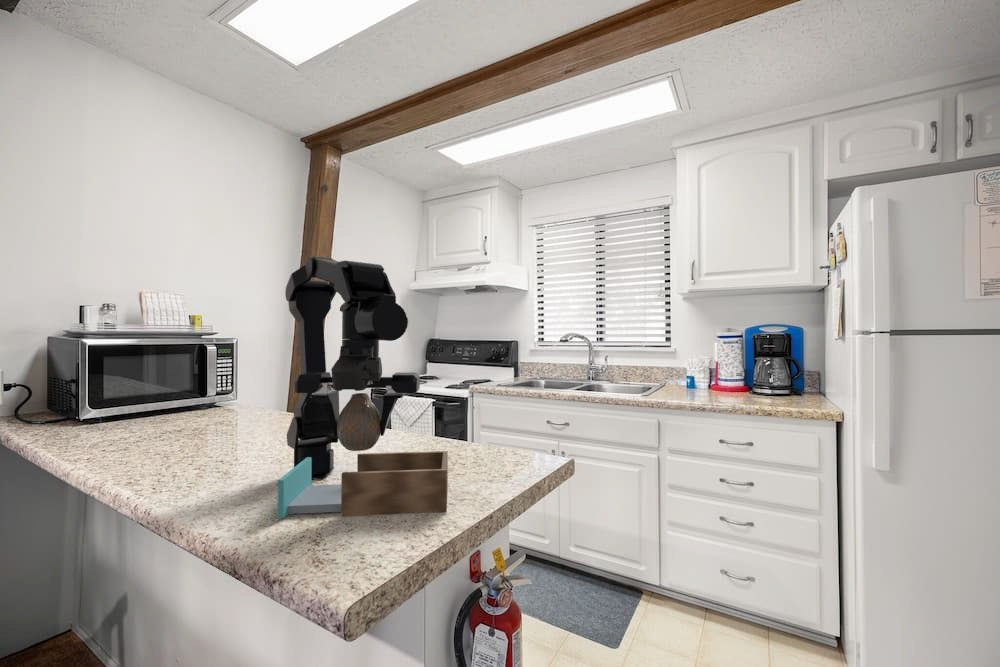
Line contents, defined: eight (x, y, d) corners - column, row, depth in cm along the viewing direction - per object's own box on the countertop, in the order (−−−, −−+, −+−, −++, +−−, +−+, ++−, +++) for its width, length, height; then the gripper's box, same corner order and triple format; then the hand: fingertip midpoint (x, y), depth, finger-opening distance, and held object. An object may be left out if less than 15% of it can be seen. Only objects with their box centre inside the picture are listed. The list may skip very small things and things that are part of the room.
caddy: (341, 516, 67) (341, 473, 67) (358, 489, 79) (358, 453, 79) (446, 511, 69) (446, 470, 69) (447, 486, 81) (447, 451, 81)
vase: (373, 454, 68) (374, 397, 68) (329, 453, 68) (330, 396, 68) (386, 443, 74) (387, 391, 74) (346, 442, 75) (347, 390, 75)
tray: (277, 518, 66) (278, 480, 66) (306, 489, 78) (306, 457, 79) (386, 513, 67) (386, 476, 67) (397, 485, 80) (397, 454, 80)
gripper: (280, 339, 62) (279, 449, 62) (413, 341, 64) (412, 448, 64) (307, 338, 73) (306, 431, 73) (420, 339, 75) (419, 430, 75)
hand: (359, 435), depth 71 cm, fingers closed on vase, 7 cm apart
